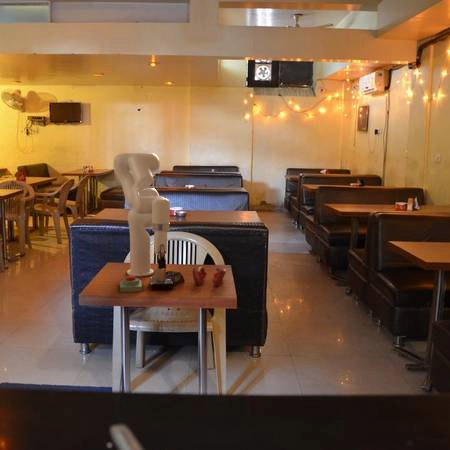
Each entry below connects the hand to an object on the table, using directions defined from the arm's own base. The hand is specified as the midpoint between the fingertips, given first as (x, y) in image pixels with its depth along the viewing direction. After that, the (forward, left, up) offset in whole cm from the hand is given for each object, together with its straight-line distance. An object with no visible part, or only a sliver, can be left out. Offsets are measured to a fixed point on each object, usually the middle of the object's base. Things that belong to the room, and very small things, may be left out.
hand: (161, 266), depth 223 cm
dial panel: (0, 0, -9) cm, 9 cm away
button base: (+1, -13, -9) cm, 16 cm away
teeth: (-3, +22, -10) cm, 24 cm away
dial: (0, 0, -6) cm, 6 cm away
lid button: (+1, -13, -6) cm, 14 cm away
